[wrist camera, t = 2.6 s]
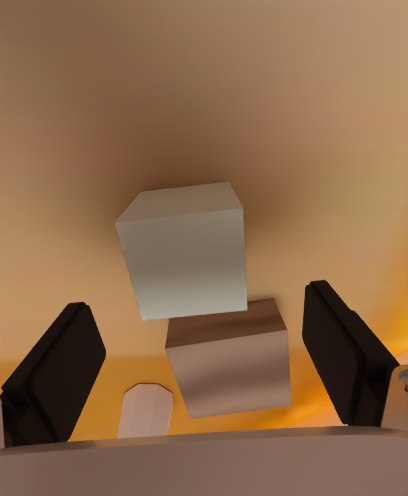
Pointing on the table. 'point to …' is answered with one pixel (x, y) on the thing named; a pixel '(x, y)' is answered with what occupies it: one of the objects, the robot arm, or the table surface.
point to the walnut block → (231, 360)
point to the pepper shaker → (145, 411)
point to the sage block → (185, 251)
